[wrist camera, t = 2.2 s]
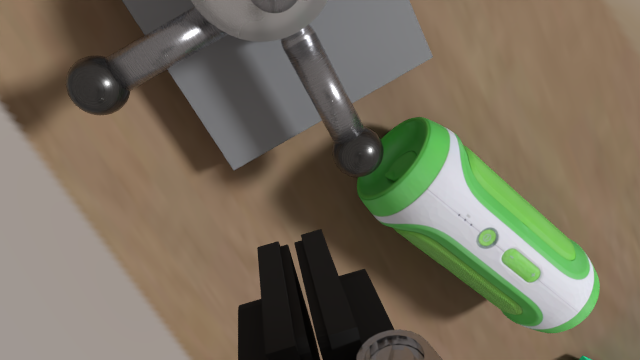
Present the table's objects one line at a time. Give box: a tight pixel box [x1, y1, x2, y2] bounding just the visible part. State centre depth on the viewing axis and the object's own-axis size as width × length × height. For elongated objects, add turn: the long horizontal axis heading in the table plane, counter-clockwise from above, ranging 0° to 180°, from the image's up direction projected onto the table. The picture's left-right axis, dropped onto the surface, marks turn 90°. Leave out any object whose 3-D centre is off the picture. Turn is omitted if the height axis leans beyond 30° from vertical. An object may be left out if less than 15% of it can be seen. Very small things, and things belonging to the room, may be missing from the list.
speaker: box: [357, 117, 600, 333], centre depth 32 cm, size 18×7×8 cm, turn 50°
